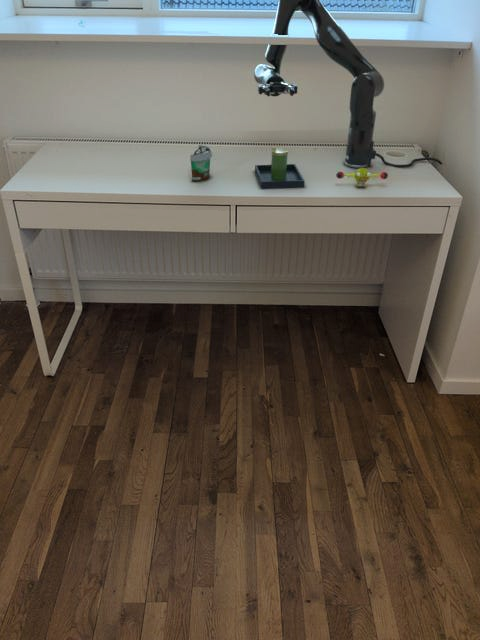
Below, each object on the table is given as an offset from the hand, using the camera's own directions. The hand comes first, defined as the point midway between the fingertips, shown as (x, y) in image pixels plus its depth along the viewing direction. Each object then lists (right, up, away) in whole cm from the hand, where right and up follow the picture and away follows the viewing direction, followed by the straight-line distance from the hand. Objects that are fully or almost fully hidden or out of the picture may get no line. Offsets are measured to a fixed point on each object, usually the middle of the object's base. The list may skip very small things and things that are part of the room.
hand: (280, 93), depth 194 cm
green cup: (-1, -30, +2) cm, 30 cm away
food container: (-28, -30, +3) cm, 41 cm away
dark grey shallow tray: (-1, -30, +3) cm, 30 cm away
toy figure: (+28, -35, -3) cm, 45 cm away
